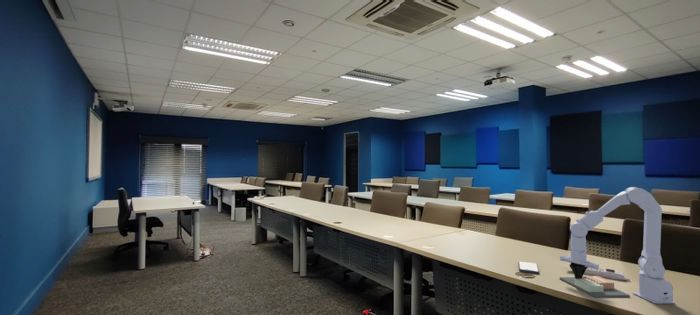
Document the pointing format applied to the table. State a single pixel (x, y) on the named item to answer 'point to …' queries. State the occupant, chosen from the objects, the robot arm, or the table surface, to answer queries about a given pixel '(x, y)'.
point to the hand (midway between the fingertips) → (578, 281)
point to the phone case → (528, 267)
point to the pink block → (601, 281)
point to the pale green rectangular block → (589, 285)
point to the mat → (606, 292)
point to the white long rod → (606, 273)
